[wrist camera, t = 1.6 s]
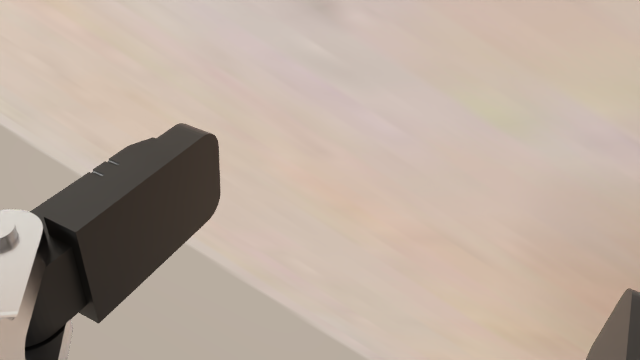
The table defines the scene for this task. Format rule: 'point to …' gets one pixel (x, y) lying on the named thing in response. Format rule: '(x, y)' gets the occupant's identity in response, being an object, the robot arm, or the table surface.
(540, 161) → the table surface
